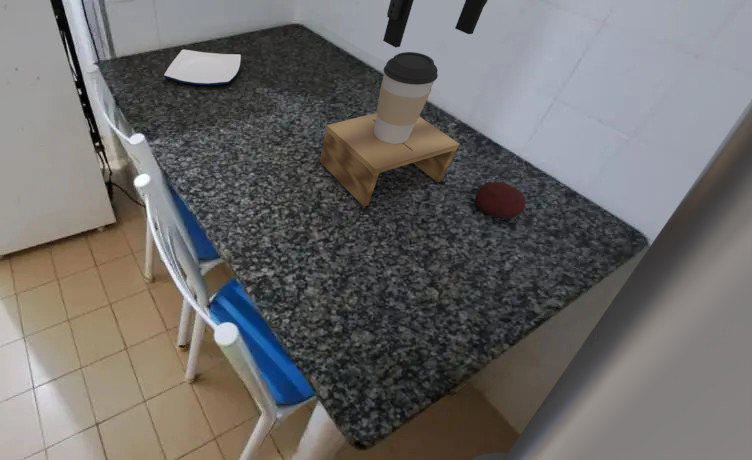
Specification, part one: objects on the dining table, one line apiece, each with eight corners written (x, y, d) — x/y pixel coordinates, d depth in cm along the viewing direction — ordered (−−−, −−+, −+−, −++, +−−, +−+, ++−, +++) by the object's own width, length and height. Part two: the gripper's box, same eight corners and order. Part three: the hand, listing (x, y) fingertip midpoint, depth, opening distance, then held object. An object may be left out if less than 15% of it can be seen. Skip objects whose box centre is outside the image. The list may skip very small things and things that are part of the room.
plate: (160, 85, 110) (159, 76, 108) (181, 56, 124) (180, 47, 122) (231, 92, 108) (231, 83, 106) (244, 62, 122) (244, 53, 120)
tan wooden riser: (441, 181, 82) (460, 143, 75) (363, 207, 76) (376, 168, 69) (391, 141, 92) (404, 105, 85) (319, 161, 86) (326, 124, 79)
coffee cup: (410, 122, 80) (435, 47, 69) (419, 148, 74) (449, 70, 63) (365, 120, 81) (383, 46, 70) (370, 145, 75) (391, 68, 64)
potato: (490, 230, 72) (507, 206, 68) (460, 201, 78) (474, 177, 73) (522, 222, 74) (540, 198, 69) (490, 194, 79) (505, 170, 75)
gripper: (548, -171, 47) (471, 18, 63) (383, -176, 40) (342, 40, 55) (610, -171, 43) (511, 34, 58) (436, -177, 35) (375, 59, 51)
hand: (428, 37), depth 57 cm, fingers open, 13 cm apart
